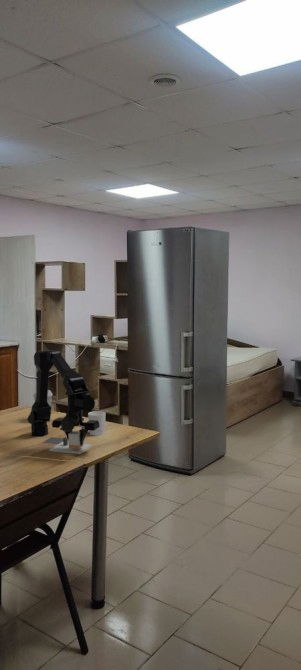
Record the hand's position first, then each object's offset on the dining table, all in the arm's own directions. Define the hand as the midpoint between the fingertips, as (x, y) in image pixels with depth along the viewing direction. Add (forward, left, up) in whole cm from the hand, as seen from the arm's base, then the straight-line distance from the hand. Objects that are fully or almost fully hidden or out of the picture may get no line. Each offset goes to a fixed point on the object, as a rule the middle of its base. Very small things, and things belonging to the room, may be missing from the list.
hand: (76, 444), depth 205 cm
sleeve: (0, 0, -1) cm, 1 cm away
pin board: (-3, +2, -3) cm, 5 cm away
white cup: (-1, +24, -3) cm, 24 cm away
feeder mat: (-15, +9, -3) cm, 18 cm away
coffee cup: (-37, +39, -3) cm, 54 cm away
